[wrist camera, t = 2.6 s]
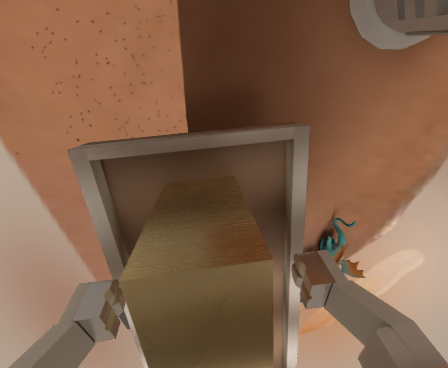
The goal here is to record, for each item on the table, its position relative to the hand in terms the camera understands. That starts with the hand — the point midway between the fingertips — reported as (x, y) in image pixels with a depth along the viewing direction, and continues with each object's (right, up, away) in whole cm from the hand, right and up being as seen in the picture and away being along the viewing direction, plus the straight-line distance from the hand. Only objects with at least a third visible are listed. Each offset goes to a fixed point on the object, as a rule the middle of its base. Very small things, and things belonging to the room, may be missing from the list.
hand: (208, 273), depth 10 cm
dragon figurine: (+14, +1, +15) cm, 20 cm away
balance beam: (0, -5, +7) cm, 9 cm away
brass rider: (0, +2, +3) cm, 4 cm away
